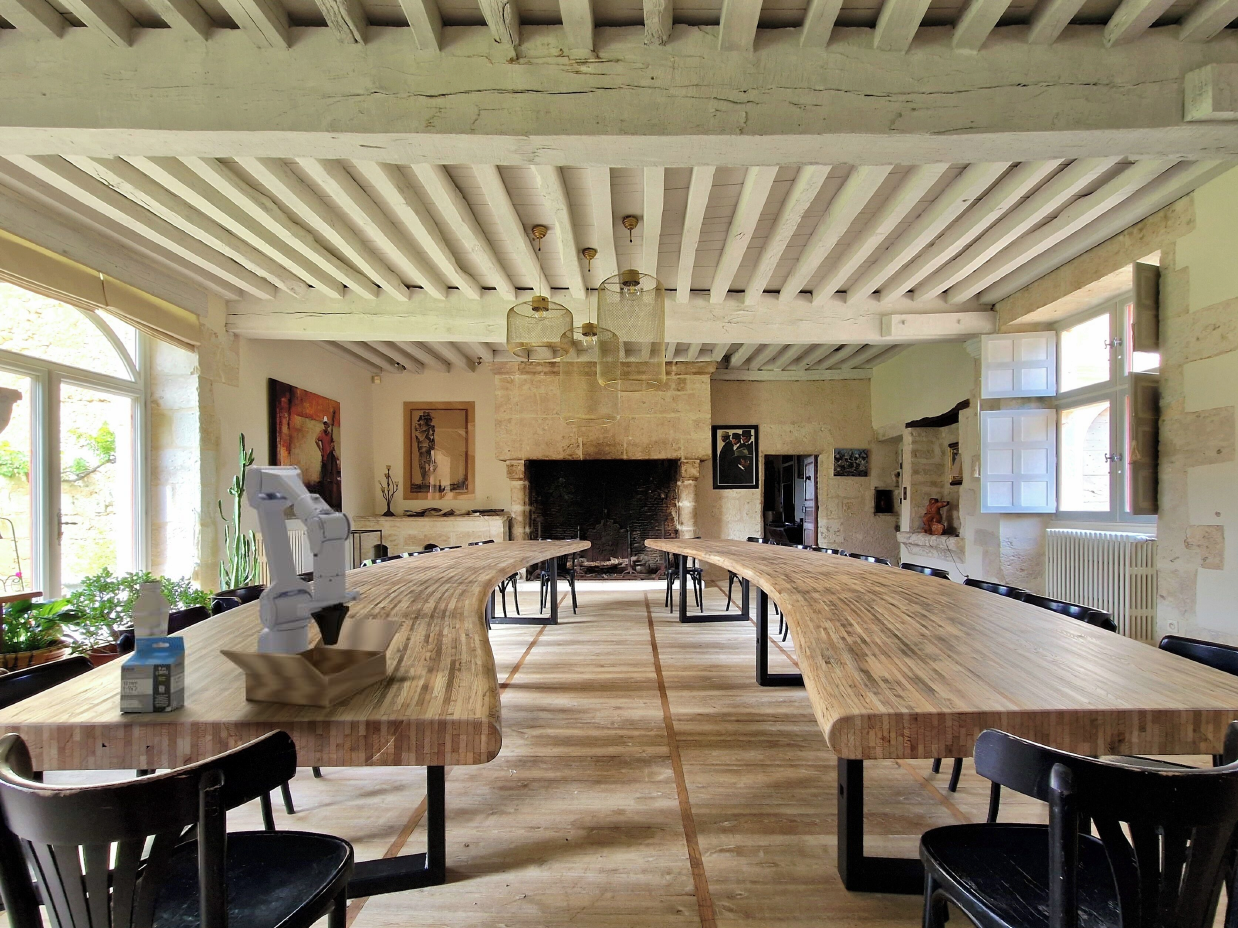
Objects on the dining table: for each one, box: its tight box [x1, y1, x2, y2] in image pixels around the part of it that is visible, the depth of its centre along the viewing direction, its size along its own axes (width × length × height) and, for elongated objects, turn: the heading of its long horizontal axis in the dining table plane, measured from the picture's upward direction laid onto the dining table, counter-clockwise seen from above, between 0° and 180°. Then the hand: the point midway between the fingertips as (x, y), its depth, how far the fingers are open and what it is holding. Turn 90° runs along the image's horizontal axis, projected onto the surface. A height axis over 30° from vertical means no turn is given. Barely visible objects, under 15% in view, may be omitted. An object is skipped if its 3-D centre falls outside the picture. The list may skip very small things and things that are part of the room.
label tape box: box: [119, 635, 186, 713], centre depth 106 cm, size 9×4×12 cm, turn 92°
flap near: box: [219, 649, 325, 679], centre depth 104 cm, size 17×8×1 cm
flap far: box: [313, 617, 403, 653], centre depth 125 cm, size 17×8×1 cm
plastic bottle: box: [130, 579, 171, 654], centre depth 122 cm, size 6×7×20 cm
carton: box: [244, 647, 388, 709], centre depth 114 cm, size 18×16×5 cm
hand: (330, 644), depth 117 cm, fingers closed
